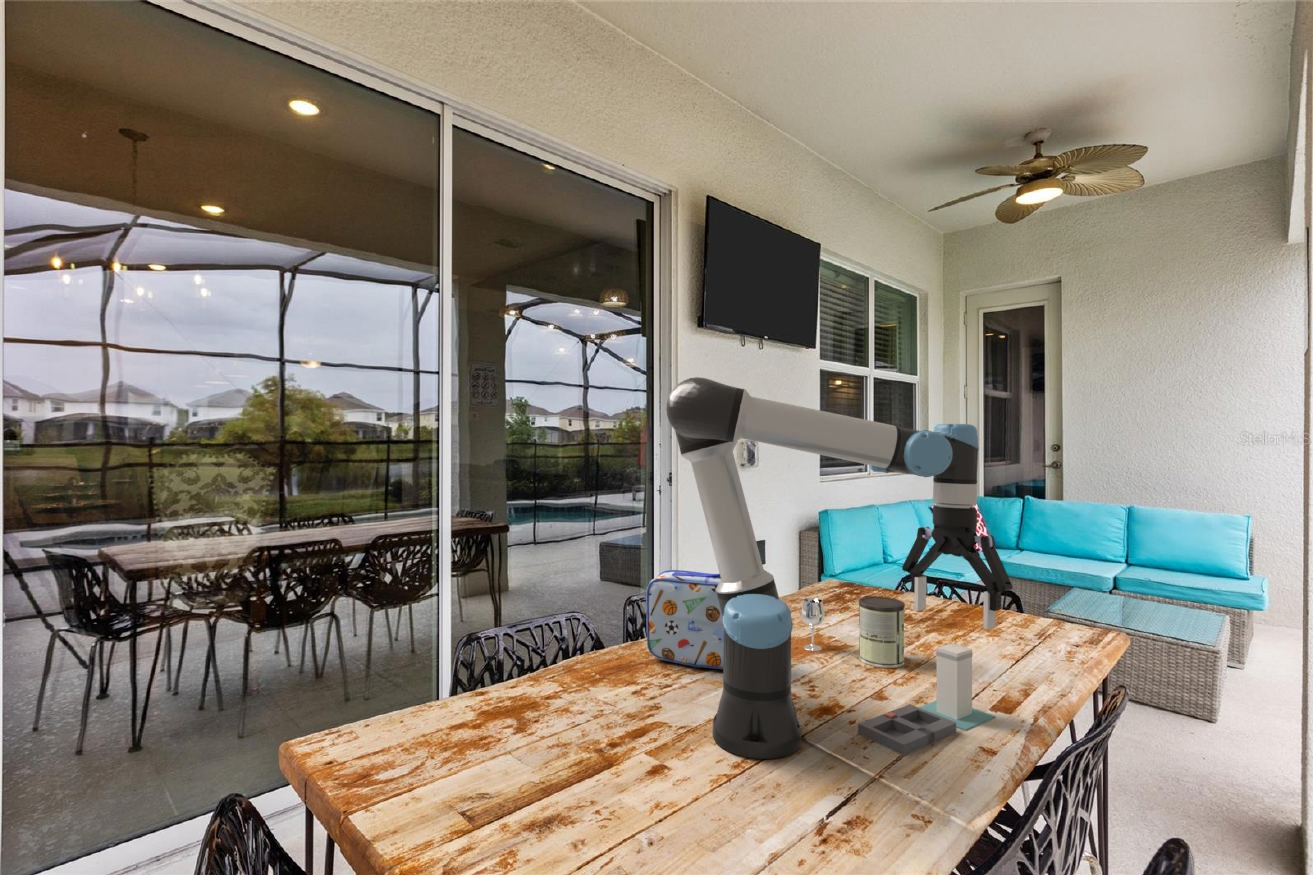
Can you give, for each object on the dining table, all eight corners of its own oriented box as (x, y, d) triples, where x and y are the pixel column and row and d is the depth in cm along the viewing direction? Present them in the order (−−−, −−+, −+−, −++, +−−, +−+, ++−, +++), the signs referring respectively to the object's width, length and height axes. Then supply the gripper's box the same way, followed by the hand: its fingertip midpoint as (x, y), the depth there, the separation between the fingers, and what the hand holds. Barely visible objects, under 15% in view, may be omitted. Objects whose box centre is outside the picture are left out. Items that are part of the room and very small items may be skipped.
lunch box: (766, 663, 143) (767, 569, 143) (759, 678, 133) (760, 577, 133) (655, 649, 152) (656, 560, 152) (641, 663, 142) (642, 568, 142)
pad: (965, 735, 108) (965, 729, 108) (914, 714, 116) (914, 709, 116) (995, 721, 113) (995, 716, 113) (944, 702, 121) (944, 697, 121)
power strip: (904, 760, 99) (904, 743, 99) (858, 738, 106) (858, 721, 106) (956, 737, 107) (956, 720, 107) (910, 717, 114) (910, 702, 114)
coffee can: (854, 652, 151) (854, 595, 151) (897, 654, 150) (897, 596, 150) (864, 667, 141) (864, 606, 141) (910, 669, 140) (910, 607, 140)
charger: (957, 720, 111) (957, 653, 112) (936, 711, 115) (936, 647, 115) (972, 713, 114) (972, 649, 114) (951, 705, 118) (951, 643, 118)
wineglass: (808, 652, 150) (808, 603, 151) (796, 645, 156) (797, 598, 156) (829, 650, 152) (829, 602, 152) (816, 643, 158) (817, 597, 158)
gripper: (1035, 511, 107) (1033, 633, 107) (907, 499, 128) (906, 601, 127) (1013, 513, 103) (1011, 639, 102) (885, 500, 124) (883, 605, 123)
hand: (953, 618), depth 115 cm, fingers open, 13 cm apart
